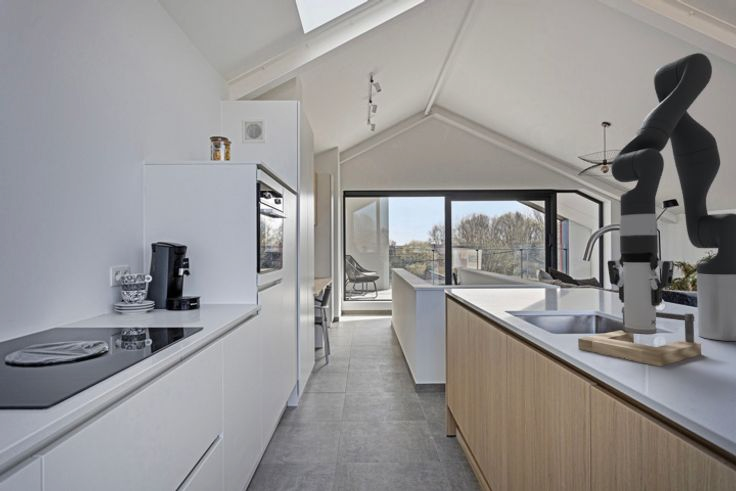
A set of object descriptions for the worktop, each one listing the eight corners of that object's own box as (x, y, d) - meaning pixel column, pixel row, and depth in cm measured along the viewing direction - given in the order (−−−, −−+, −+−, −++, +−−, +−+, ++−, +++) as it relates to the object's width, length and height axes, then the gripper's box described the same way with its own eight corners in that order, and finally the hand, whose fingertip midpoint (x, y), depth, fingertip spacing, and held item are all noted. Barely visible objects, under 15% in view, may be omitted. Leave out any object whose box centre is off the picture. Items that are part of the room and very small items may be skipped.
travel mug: (663, 335, 93) (661, 248, 93) (631, 334, 94) (629, 248, 95) (650, 329, 99) (648, 248, 99) (620, 329, 100) (618, 248, 101)
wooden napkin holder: (620, 339, 108) (619, 306, 109) (702, 354, 93) (700, 314, 93) (578, 348, 99) (577, 312, 100) (660, 366, 84) (659, 322, 84)
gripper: (680, 232, 93) (682, 306, 92) (616, 235, 105) (617, 300, 105) (664, 232, 89) (665, 308, 89) (599, 235, 102) (600, 302, 101)
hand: (639, 303), depth 97 cm, fingers closed on travel mug, 6 cm apart
